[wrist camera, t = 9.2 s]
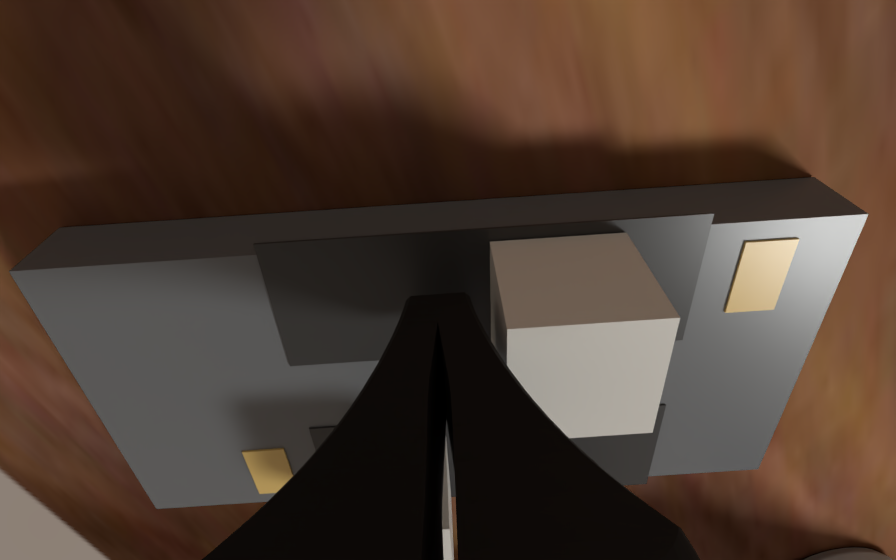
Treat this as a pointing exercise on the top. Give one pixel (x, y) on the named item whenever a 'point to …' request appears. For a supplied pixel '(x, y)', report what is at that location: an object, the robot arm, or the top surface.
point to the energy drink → (850, 554)
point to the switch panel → (380, 307)
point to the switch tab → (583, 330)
